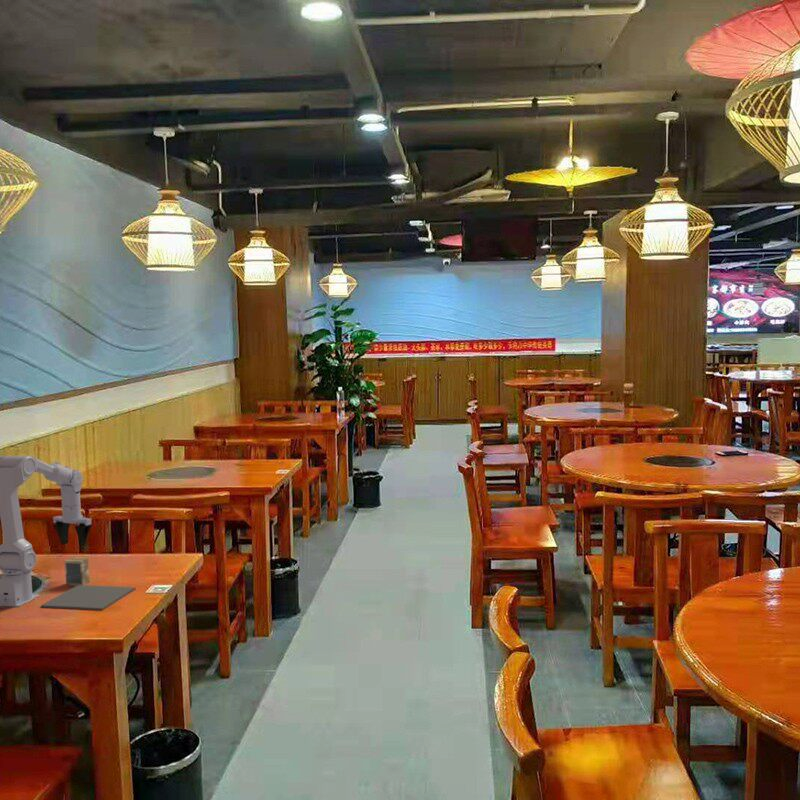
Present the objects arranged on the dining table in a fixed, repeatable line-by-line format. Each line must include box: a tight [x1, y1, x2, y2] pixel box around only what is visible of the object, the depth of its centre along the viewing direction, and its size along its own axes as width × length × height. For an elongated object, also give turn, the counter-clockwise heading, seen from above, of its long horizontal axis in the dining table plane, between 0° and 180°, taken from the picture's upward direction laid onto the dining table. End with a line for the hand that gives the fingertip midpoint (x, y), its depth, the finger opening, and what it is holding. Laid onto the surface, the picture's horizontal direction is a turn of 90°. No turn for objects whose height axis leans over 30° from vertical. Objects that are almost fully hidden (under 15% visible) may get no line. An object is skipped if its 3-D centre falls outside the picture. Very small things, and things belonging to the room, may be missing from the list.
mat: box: [40, 584, 136, 611], centre depth 229 cm, size 18×20×1 cm
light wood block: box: [64, 557, 91, 587], centre depth 242 cm, size 4×6×8 cm, turn 79°
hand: (73, 544), depth 253 cm, fingers open, 7 cm apart
